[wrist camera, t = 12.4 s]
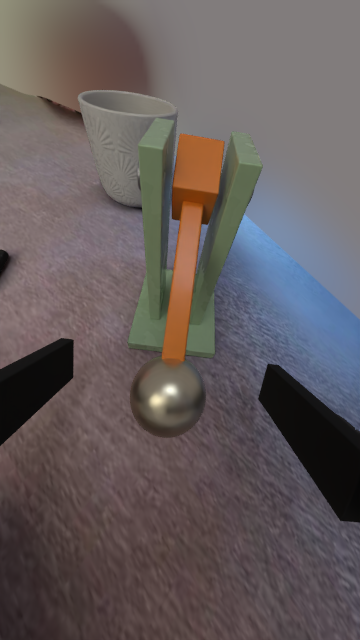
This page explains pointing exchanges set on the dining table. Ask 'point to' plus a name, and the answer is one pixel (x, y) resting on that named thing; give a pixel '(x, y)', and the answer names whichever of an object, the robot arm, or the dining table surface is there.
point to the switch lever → (180, 298)
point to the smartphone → (3, 258)
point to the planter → (121, 136)
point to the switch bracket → (221, 232)
